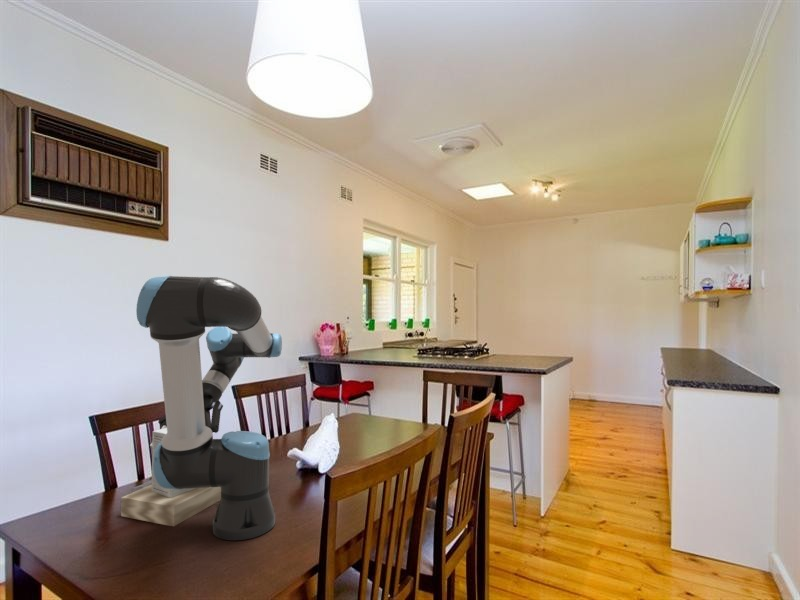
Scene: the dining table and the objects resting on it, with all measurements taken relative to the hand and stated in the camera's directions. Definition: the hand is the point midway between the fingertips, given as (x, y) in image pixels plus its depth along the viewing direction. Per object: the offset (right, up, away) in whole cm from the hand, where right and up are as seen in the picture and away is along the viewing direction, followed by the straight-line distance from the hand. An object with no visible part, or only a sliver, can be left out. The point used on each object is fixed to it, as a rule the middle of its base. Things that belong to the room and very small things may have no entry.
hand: (172, 450), depth 124 cm
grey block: (-11, -17, +11) cm, 23 cm away
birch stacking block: (0, -16, 0) cm, 16 cm away
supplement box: (+1, -11, 0) cm, 11 cm away
